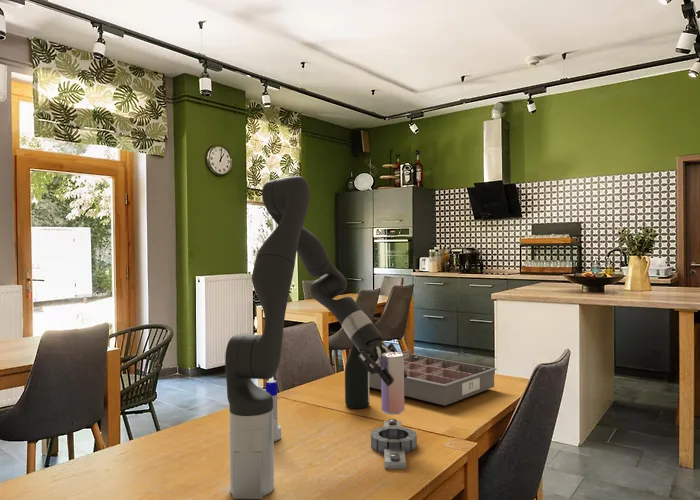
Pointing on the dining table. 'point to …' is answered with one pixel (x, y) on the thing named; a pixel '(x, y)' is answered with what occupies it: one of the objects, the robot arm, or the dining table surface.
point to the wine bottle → (356, 381)
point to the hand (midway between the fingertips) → (398, 380)
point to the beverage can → (393, 384)
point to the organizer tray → (440, 379)
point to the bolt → (274, 408)
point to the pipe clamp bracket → (394, 443)
